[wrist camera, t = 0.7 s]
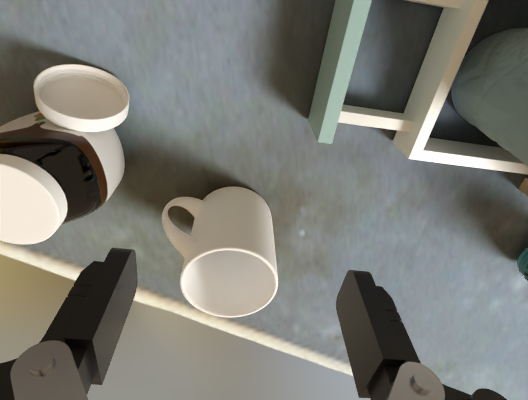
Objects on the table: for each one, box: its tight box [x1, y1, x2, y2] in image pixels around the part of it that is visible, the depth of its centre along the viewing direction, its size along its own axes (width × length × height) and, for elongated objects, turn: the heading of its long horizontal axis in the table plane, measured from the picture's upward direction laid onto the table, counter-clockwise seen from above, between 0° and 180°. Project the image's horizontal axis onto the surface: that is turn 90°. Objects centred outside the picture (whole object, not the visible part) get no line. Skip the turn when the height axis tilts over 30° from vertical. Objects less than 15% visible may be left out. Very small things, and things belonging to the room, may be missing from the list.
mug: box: [162, 186, 278, 317], centre depth 33 cm, size 9×12×11 cm
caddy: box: [308, 0, 528, 174], centre depth 28 cm, size 15×24×6 cm, turn 81°
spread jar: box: [0, 64, 129, 244], centre depth 27 cm, size 12×11×12 cm
